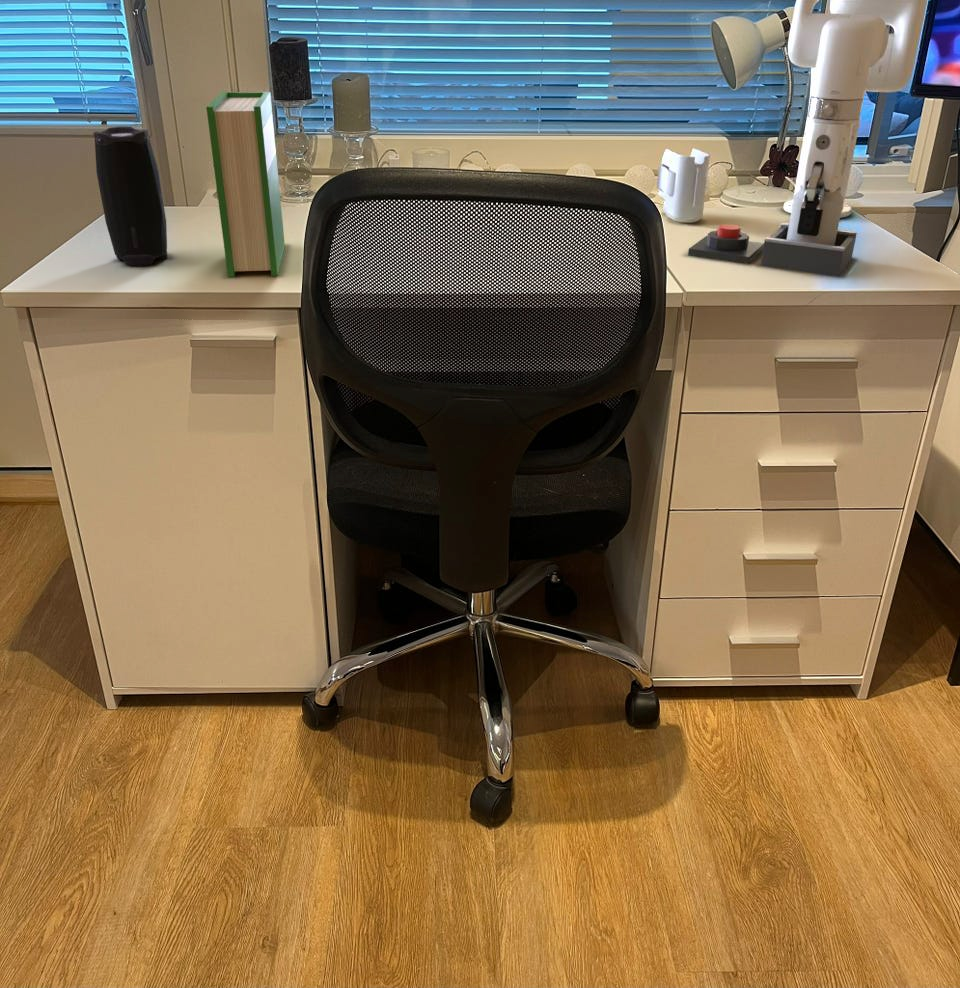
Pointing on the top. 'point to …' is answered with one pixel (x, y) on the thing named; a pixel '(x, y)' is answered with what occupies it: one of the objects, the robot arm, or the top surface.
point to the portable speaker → (131, 195)
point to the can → (828, 220)
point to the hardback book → (247, 180)
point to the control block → (726, 248)
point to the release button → (729, 231)
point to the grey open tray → (808, 253)
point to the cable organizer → (683, 184)
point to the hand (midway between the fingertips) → (812, 228)
